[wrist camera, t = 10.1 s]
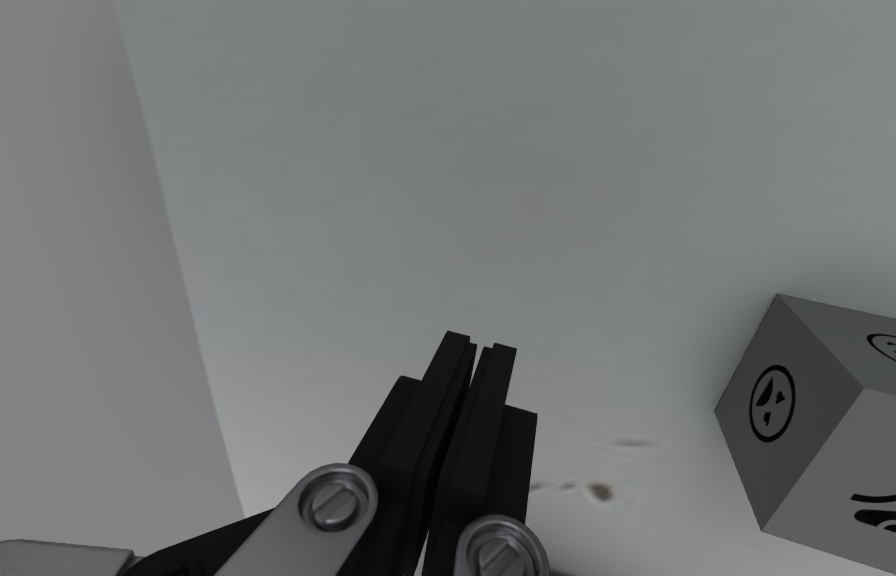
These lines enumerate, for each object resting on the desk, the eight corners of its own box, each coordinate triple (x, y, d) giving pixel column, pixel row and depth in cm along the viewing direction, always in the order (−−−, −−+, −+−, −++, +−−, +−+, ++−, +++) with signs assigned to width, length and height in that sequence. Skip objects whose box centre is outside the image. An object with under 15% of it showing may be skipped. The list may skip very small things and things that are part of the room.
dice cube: (714, 411, 16) (761, 531, 12) (777, 293, 14) (864, 388, 9) (868, 453, 15) (982, 602, 11) (963, 334, 13) (1157, 460, 8)
